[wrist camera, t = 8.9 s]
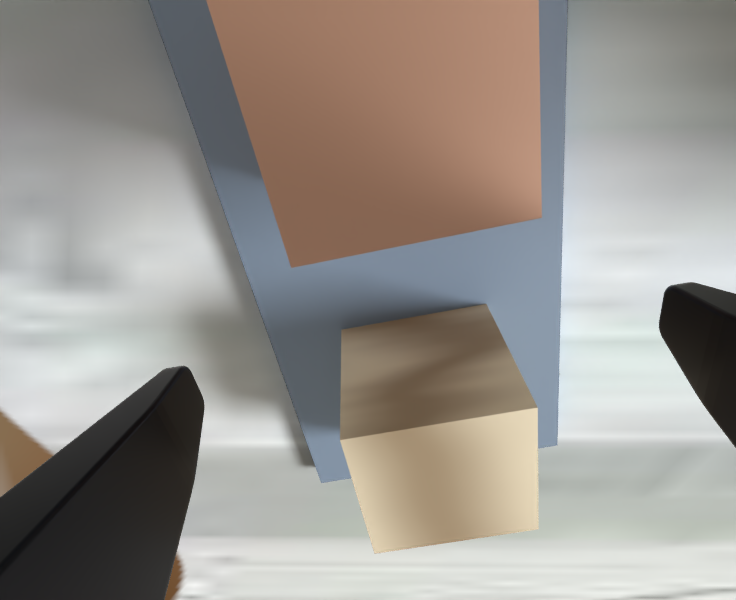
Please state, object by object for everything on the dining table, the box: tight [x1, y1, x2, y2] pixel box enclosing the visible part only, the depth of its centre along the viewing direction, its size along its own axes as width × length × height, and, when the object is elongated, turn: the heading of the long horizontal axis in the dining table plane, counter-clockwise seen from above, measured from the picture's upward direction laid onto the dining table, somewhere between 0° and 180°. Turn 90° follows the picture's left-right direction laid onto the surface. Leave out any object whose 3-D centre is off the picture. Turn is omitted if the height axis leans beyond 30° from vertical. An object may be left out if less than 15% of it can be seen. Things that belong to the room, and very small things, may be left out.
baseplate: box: [148, 0, 568, 483], centre depth 13 cm, size 10×30×1 cm, turn 10°
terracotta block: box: [206, 0, 542, 268], centre depth 10 cm, size 5×5×5 cm
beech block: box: [340, 304, 538, 554], centre depth 15 cm, size 5×5×5 cm
